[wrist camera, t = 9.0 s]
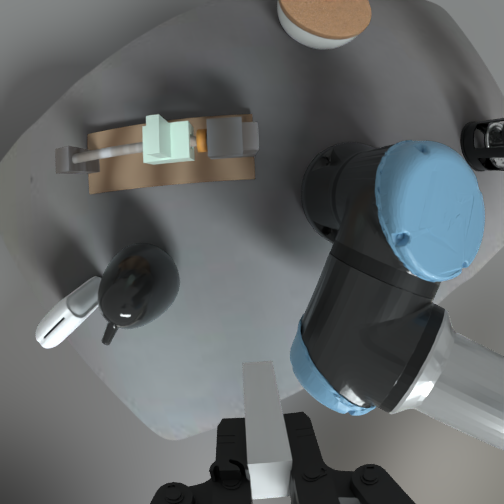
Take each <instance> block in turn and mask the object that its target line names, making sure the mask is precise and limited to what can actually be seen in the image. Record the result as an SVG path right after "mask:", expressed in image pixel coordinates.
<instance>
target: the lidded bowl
mask: <svg viewBox="0 0 504 504" xmlns="http://www.w3.org/2000/svg"><path fill="white" fill-rule="evenodd" d="M277 13H278V18H279V21H280V23H281V25H282V27H283V29H284V30H285V31H286V33H287V34H288V35H289V36H290V37H291V38H293V39H294V40H295V41H297V42H299V43H300V44H303V45H305V46H307V47H310V48H315V49H333V48H338V47H341V46H343V45H345V44H347V43H349V42H350V41H352V40H353V39H354V38H355V37H357V36H358V35H359V34H360V33H361V32H363V31H364V30H365V28H366V27H367V26H368V25H369V23H370V20H371V8H370V4H369V2H368V0H278V2H277Z"/></svg>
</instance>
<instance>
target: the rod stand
mask: <svg viewBox="0 0 504 504" xmlns="http://www.w3.org/2000/svg"><path fill="white" fill-rule="evenodd" d="M180 121H189V122H190V124H191V125H192V126H193V128H194V136H190V145H191V147H194V155H195V161H185V162H174V163H164V164H155V165H152V164H147V163H143V133H142V126H146V124H139V125H133V126H127V127H121V128H116V129H110V130H105V131H100V132H95V133H91V134H87V145H88V149H83V148H77V147H72V146H66V147H62V148H58V149H55V158H56V173H64V174H88V177H89V193H90V194H96V193H103V192H110V191H118V190H126V189H135V188H144V187H153V186H163V185H174V184H185V183H198V182H212V181H228V180H247V179H255V163H254V156H255V155H256V153H257V152H258V150H259V134H258V122H253V121H252V114H240V115H221V116H207V117H196V118H185V119H176V120H168V121H167V122H168V123H171V122H180Z"/></svg>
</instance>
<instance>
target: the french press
mask: <svg viewBox="0 0 504 504" xmlns="http://www.w3.org/2000/svg"><path fill="white" fill-rule="evenodd" d="M500 121H504V118H501V119H494V120H487V121H481V122H469V123H468V124H466V125H465V126H464V128H463V130H462V134H461V147H462V152H463V155H464V157H465V159H466V161H467V163H468V164H469V165H470V167H472V168H473V169H474V170H476V171H485V170H490V171H491V170H500V171H504V124H503V125H502V124H501V123H500ZM475 129H479V130H480V131H481V132H482V133H483V134H484V145H485V148H475V147H474V132H475ZM478 158H488V159H487V161H486V162H485V163H484V164H481V162H480V161H479V159H478Z"/></svg>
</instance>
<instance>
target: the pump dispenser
mask: <svg viewBox="0 0 504 504" xmlns="http://www.w3.org/2000/svg"><path fill="white" fill-rule="evenodd" d="M179 285H180V279H179V273H178V270H177V267H176V265H175V263H174V261H173V260H172V258H171V257H170V256H169V255H168V254H167V253H166V252H165V251H163V250H162V249H160V248H159V247H157V246H155V245H152V244H148V243H136V244H132V245H129V246H127V247H125V248H123V249H122V250H121V251H119V252H118V253H117V254H116V255H115V256H114V258H113V259H112V260H111V261H110V263H109V264H108V266H107V268H106V270H105V272H104V274H103V276H102V279H101V281H100V284H99V288H98V306H99V310H100V312H101V314H102V316H103V317H104V318H105V319H106V320H107V321H108V323H107V326H106V329H105V332H104V335H103V338H102V343H103V344H105V345H109V344H110V343H111V341H112V339H113V337H114V335H115V334H116V332H117V330H118V328H123V329H133V328H138V327H141V326H144V325H146V324H148V323H150V322H152V321H153V320H155V319H157V318H158V317H159V316H161V315H162V314H163V313H164V312H165V311H166V310H167V309H168V308H169V307H170V306H171V305H172V303H173V302H174V300H175V298H176V296H177V294H178V291H179Z"/></svg>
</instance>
